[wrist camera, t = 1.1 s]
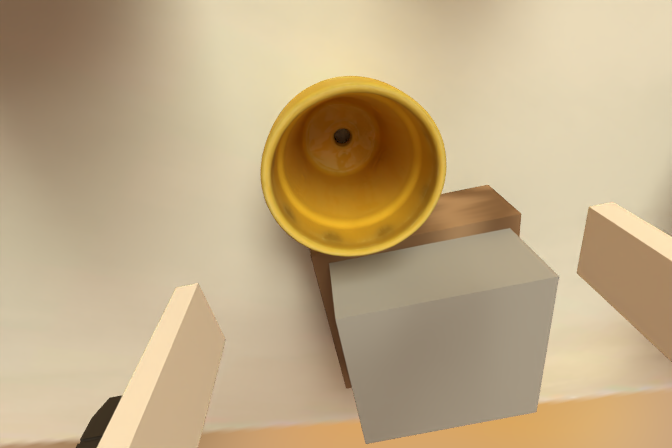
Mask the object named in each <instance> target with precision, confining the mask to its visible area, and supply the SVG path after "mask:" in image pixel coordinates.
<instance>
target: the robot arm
mask: <svg viewBox="0 0 672 448" xmlns="http://www.w3.org/2000/svg"><path fill="white" fill-rule="evenodd" d="M577 274H578V275H579V276H580V277H581V278H583V279H584V280H585V281H586V282H587V283H588V284H589V285H590V286H591V287H592V288H593V289H594V290H595V291H596V292H598V293H599V294H600V295H601V296H602V297H603V298H604V299H605V300H606V301H607V302H608V303H609V304H610V305H611V306H613V307H614V308H615V309H616V310H617V311H618V312H619V313H620V314H621V315H622V316H623V317H624V318H625V319H626V320H628V321H629V322H630V323H631V324H632V325H633V326H634V327H635V328H636V329H637V330H638V331H639V332H640V333H641V334H643V335H644V336H645V337H646V338H647V339H648V340H649V341H650V342H651V343H652V344H653V345H654V346H655V347H656V348H658V349H659V350H660V351H661V352H662V353H663V354H664V355H665V356H666V357H667V358H668V359H669V360H670V361H671V362H672V237H671V236H669V235H668V234H666V233H664V232H663V231H661V230H659V229H658V228H656V227H654V226H652V225H651V224H649V223H647V222H646V221H644V220H642V219H641V218H639V217H637V216H636V215H634V214H632V213H630V212H629V211H627V210H625V209H624V208H622V207H620V206H619V205H617V204H615V203H614V202H610V203H605V204H600V205H594V206H589V209H588V214H587V220H586V225H585V231H584V236H583V241H582V247H581V252H580V258H579V263H578V268H577ZM225 340H226V339H225V337H224V335H223V333H222V331H221V329H220V327H219V325H218V323H217V321H216V319H215V317H214V315H213V313H212V311H211V309H210V307H209V304H208V302H207V300H206V298H205V296H204V294H203V292H202V290H201V288H200V286H199V284H198V283H196V284H191V285H186V286H181V287H176V289H175V291H174V293H173V295H172V297H171V299H170V301H169V303H168V305H167V307H166V309H165V311H164V313H163V315H162V317H161V319H160V321H159V323H158V325H157V327H156V329H155V331H154V333H153V335H152V337H151V339H150V341H149V343H148V345H147V347H146V349H145V351H144V353H143V355H142V357H141V360H140V362H139V364H138V366H137V368H136V370H135V372H134V374H133V376H132V378H131V380H130V382H129V384H128V386H127V388H126V390H125V392H124V394H123V395H122V396H117V397H112V398H109V399H108V400H107V401H106V402H105V404H104V405H103V406H102V407H101V408H100V409H99V410H98V412H97V413H96V414H95V415H94V416H93V417H92V419H91V421H90V422H89V424H88V426H87V428H86V430H85V432H84V433H83V435H82V437H81V439H80V440H81V442H80V444H77V446H76V448H198V445H199V441H200V437H201V433H202V430H203V426H204V422H205V418H206V414H207V410H208V406H209V402H210V399H211V395H212V391H213V387H214V383H215V379H216V375H217V371H218V368H219V364H220V360H221V356H222V352H223V348H224V344H225Z"/></svg>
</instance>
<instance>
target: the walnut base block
mask: <svg viewBox="0 0 672 448" xmlns="http://www.w3.org/2000/svg"><path fill="white" fill-rule="evenodd" d="M520 222H521V213H520V212H519V211H518V210H516V209H515V208H514V207H513V206H512V205H511V204H510V203H508V202H507V201H506V200H505V199H504V198H503V197H502V196H500V195H499V194H498V193H497V192H496V191H495V190H494V189H492V188H491V187H490V186H489V185H484V186H480V187H475V188H470V189H465V190H460V191H455V192H450V193H445V194H441V195H440V198H439V200H438V202H437V204H436V206H435V208H434V210H433V211H432V213H431V214H430V216H429V217H428V218H427V220H426V221H425V222H424V223H423V224H422V226H421V227H420V228H419V229H417V230H416V231H415V232H414V233H413V234H412V235H410V236H409V237H408V238H406V239H405V240H403V241H402V242H400V243H398V244H397V245H395V246H393V247H390V248H388V249H386V250H383V251H380V252H377V253H373V254H369V255H374V254H379V253H384V252H389V251H395V250H400V249H405V248H410V247H415V246H420V245H425V244H430V243H436V242H441V241H446V240H451V239H456V238H461V237H466V236H472V235H477V234H482V233H487V232H492V231H498V230H503V229H508V228H510V229H511V230H512V231H513V232H514V233H515V234H516V235H517V236H518V237H519V234H520ZM369 255H363V256H350V257H348V256H334V255H329V254H324V253H321V252H318V251H315V250H312V249H311V258H312V262H313V266H314V270H315V273H316V277H317V281H318V285H319V288H320V292H321V296H322V299H323V303H324V307H325V311H326V314H327V318H328V322H329V326H330V329H331V333H332V337H333V341H334V344H335V348H336V352H337V355H338V359H339V363H340V367H341V370H342V374H343V378H344V382H345V385H346V388H351V387H352V385H351V381H350V377H349V373H348V369H347V365H346V361H345V357H344V352H343V348H342V344H341V340H340V336H339V332H338V328H337V324H336V320H335V311H334V302H333V293H332V284H331V276H330V267H329V263H333V262H338V261H343V260H348V259H353V258H359V257H364V256H369Z"/></svg>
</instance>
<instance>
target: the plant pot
mask: <svg viewBox="0 0 672 448" xmlns="http://www.w3.org/2000/svg"><path fill="white" fill-rule="evenodd" d="M342 128H344V129H347V130H348V131H349V132H350V139H349V140H348V141H347V142H346V143H338V142H336V141H335V139H334V134H335V132H336V131H337V130H339V129H342ZM445 176H446V154H445V148H444V143H443V140H442V137H441V134H440V132H439V130H438V128H437V126H436V124H435V122H434V121H433V119H432V118H431V116H430V115H429V114H428V112H427V111H426V110H425V109H424V108H423V107H422V106H421V105H420V104H418V103H417V102H416V101H415V100H414V99H412V98H411V97H410V96H408V95H407V94H405V93H404V92H402V91H400V90H399V89H397V88H395V87H393V86H391V85H389V84H387V83H384V82H381V81H379V80H375V79H371V78H366V77H359V76H343V77H335V78H331V79H327V80H324V81H321V82H319V83H317V84H314V85H312V86H310V87H308V88H306V89H305V90H303V91H302V92H301V93H299V94H298V95H297V96H295V97H294V98H293V99H292V100H291V101H290V102H289V103H288V104H287V105H286V106H285V108H284V109H283V110H282V111H281V113H280V114H279V116H278V117H277V119H276V121H275V123H274V124H273V126H272V128H271V131H270V133H269V135H268V138H267V141H266V144H265V148H264V151H263V156H262V162H261V184H262V190H263V194H264V198H265V201H266V203H267V206H268V208H269V210H270V212H271V214H272V215H273V217H274V219H275V220H276V222H277V223H278V224H279V225H280V227H281V228H282V229H283V230H284V231H285V232H286V233H287V234H288V235H290V236H291V237H292V238H293V239H295V240H296V241H297V242H299V243H301V244H302V245H304V246H306V247H308V248H310V249H312V250H315V251H318V252H321V253H324V254H329V255H334V256H348V257H350V256H363V255H369V254H373V253H377V252H380V251H383V250H386V249H388V248H390V247H393V246H395V245H397V244H398V243H400V242H402V241H403V240H405V239H406V238H408V237H409V236H410V235H412V234H413V233H414V232H415V231H416V230H417V229H419V228H420V227H421V226H422V224H423V223H424V222H425V221H426V220H427V218H428V217H429V216H430V214H431V213H432V211H433V210H434V208H435V206H436V204H437V202H438V200H439V198H440V195H441V192H442V189H443V186H444V182H445Z"/></svg>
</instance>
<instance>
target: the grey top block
mask: <svg viewBox="0 0 672 448" xmlns="http://www.w3.org/2000/svg"><path fill="white" fill-rule="evenodd" d="M329 267H330V276H331V284H332V293H333V302H334V311H335V320H336V324H337V328H338V332H339V336H340V340H341V344H342V348H343V352H344V357H345V361H346V365H347V369H348V373H349V377H350V381H351V385H352V390H353V394H354V398H355V402H356V406H357V410H358V414H359V418H360V422H361V427H362V431H363V434H364V439H365V443H366V444H369V443H374V442H379V441H384V440H389V439H395V438H401V437H406V436H410V435H416V434H422V433H427V432H432V431H438V430H443V429H449V428H454V427H459V426H465V425H470V424H475V423H481V422H486V421H491V420H497V419H502V418H507V417H513V416H518V415H523V414H529V413H534V412H536V411H537V405H538V399H539V393H540V387H541V381H542V375H543V369H544V363H545V358H546V352H547V346H548V340H549V334H550V328H551V322H552V316H553V310H554V304H555V298H556V292H557V286H558V280H559V276H558V275H557V274H556V273H555V272H554V271H553V270H552V269H551V268H550V267H549V266H548V265H547V264H546V263H545V262H544V261H543V260H542V259H541V258H540V257H539V256H538V255H537V254H536V253H535V252H534V251H533V250H532V249H531V248H530V247H529V246H528V245H527V244H526V243H525V242H524V241H523V240H522V239H521V238H520V237H518V236H517V235H516V234H515V233H514V232H513V231H512V230H511V229H510V228H508V229H503V230H498V231H492V232H487V233H482V234H477V235H472V236H466V237H461V238H456V239H451V240H446V241H441V242H436V243H430V244H425V245H420V246H415V247H410V248H405V249H400V250H395V251H389V252H384V253H379V254H374V255H369V256H364V257H359V258H353V259H348V260H343V261H338V262H333V263H329Z"/></svg>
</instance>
